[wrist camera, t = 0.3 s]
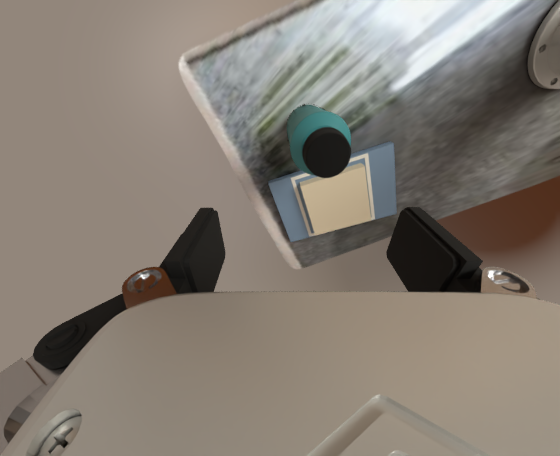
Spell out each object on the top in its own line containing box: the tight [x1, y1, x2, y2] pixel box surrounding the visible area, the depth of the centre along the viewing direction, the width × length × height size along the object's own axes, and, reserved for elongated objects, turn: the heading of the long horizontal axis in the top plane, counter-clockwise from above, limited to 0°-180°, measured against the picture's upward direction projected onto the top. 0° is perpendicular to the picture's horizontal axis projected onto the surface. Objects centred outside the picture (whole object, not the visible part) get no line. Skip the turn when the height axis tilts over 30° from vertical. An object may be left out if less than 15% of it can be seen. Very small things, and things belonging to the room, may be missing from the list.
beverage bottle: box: [287, 104, 351, 178], centre depth 26 cm, size 6×7×20 cm
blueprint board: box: [268, 141, 397, 242], centre depth 40 cm, size 22×14×4 cm, turn 109°
